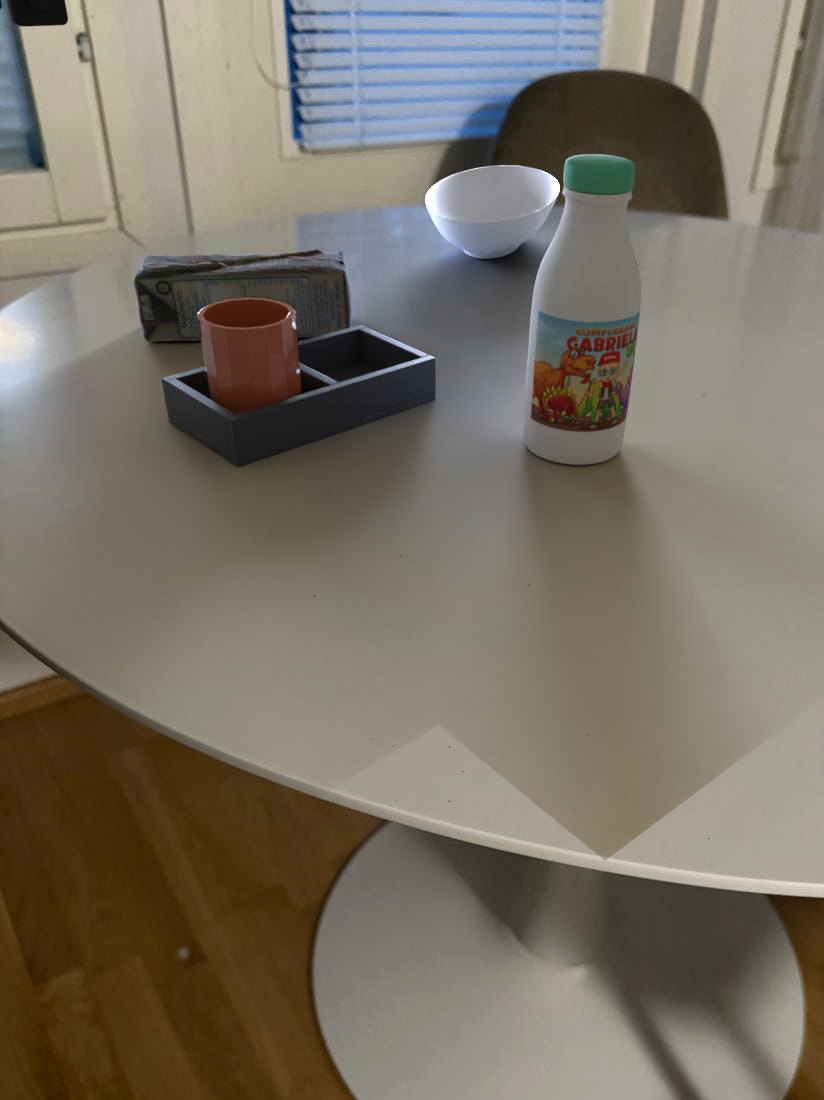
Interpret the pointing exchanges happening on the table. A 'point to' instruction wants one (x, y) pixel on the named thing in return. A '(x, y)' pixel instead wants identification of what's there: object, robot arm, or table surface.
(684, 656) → the table surface
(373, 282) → the table surface
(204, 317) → the cup
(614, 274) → the milk bottle
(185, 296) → the beverage carton
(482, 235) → the bowl
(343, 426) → the tray
